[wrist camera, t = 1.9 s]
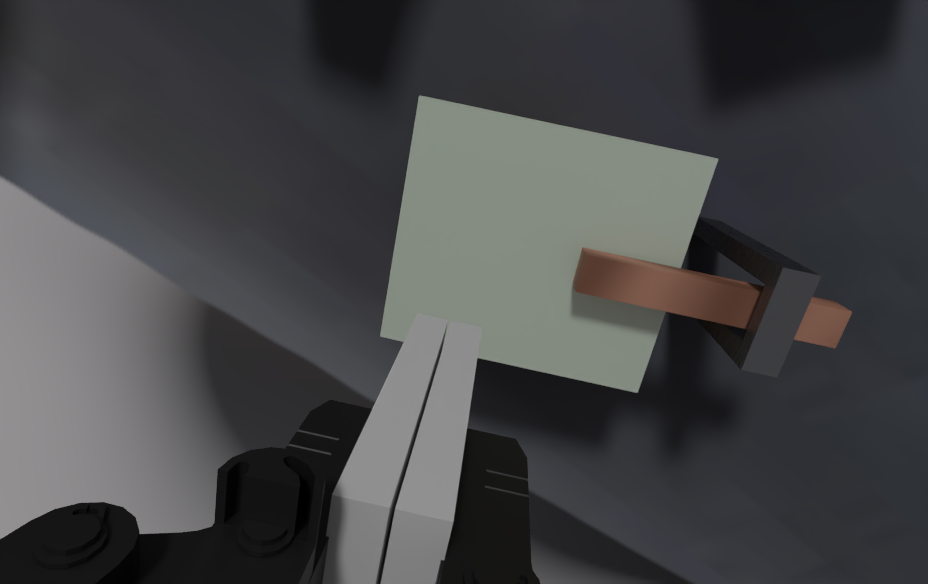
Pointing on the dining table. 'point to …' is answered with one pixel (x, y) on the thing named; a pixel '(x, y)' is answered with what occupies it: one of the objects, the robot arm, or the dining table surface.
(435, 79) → the dining table surface
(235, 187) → the dining table surface
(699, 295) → the brown flat bar
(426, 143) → the lid
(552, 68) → the dining table surface
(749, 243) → the keeper
